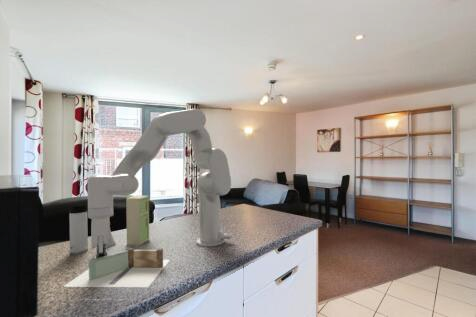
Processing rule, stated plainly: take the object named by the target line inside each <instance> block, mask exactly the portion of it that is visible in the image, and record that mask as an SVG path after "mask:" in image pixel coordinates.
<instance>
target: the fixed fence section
mask: <svg viewBox="0 0 476 317" xmlns="http://www.w3.org/2000/svg"><path fill="white" fill-rule="evenodd" d="M127 251H128V267H133V266H134V267H161V268H162V266H163V260H164V249H163V248H159V247H158V248H157V249H134V248H132V247H131V248H128V249H127Z"/></svg>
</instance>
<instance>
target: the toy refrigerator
mask: <svg viewBox="0 0 476 317" xmlns="http://www.w3.org/2000/svg"><path fill="white" fill-rule="evenodd" d="M149 198H150V197H149V195H133V196H130V197H126V200H125V201H126V202H125V203H126V204H125V205H126V206H125V208H126V211H125V212H126V245H128V246H141V245H143V244H145V243H147V242H148V241H150V203H149V202H150V200H149Z"/></svg>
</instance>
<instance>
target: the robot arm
mask: <svg viewBox="0 0 476 317" xmlns="http://www.w3.org/2000/svg"><path fill="white" fill-rule="evenodd" d="M206 122H207V117H206V114H205V113H204V112H203V111H202V109H198V108H190V109H185V110H178V111H169V112H165V113H162V114H159V115H156V116H154V117H153V119H151V121H150V122H149V124H148V125H147V126H146V128H145V130H144V131H143V133H142V134H141V136H140V137H139V139H138V140H137V142H136V143H135V144H134V146H133V147H132V148H131V149H130V150H129V152H128V153H127V154H126V155H125V156H124V157H123V159H122V160H121V161H120V162H119V163H118V165H117V167H116V168H115V169H114V171H113V172H112V174H111V175H108V174H104V175H103V174H101V175H100V174H98V175H92V176H91V175H90V176H89V177H88V179H87V219H91V225H90V227H91V229H90V232H91V233H90V234H91V235H90V236H91V237H90V238H91V239H90V240H91V241H90V242H91V244H90V249H91V250H94V249H96V256H95V258H99V257H102V256H106V255H108V252H107V248H108V247H107V246H108V242H109V233H110V231H111V227H110V226H111V222H110V219H111V218H110V217H113V216H114V196H130V195H133V194H134V193H136V191H137V190H138V189H139V184H140V183H139V180H138V178H137V177H136V175H137V173H138V172H139V171H140V170H141V168H143V167H144V166H145V165H147V164H148V163H149V162H152V160H154V159H155V158H157V156H158V154H159V152H160V151H161V149H162V147H163V146H164V144H165V143H166V141H167V139H168V138H169V137H171V136H174V135H175V136H176V135H181V134H186V136H187V137H188V138H189V140H190V142H191V146H192V152H193V156H194V161H195V164H196V167H197V168H198V169H200V170H202V171H207V172H203V173H201V174H200V176H198V178H197V180H196V189H197V194H198V201H199V202H198V205H199V207H198V208H199V209H198V210H199V212H198V215H199V219H198V220H199V237H198V238H197V239H196V244H197V246H200V247H206V248H210V247H213V248H214V247H218V246H221V245H223V244H224V243H225V240H231V239H232V238H231V236H232V235H231V234H229V233H223V230H222V227H221V225H222V222H221V221H222V220H221V218H222V217H221V199H220V196H225V195H227V194H228V193H229V192H230V191H231V188H232V177H231V172H230V167H229V160H228V158H227V155H226V153H225V152H224V151H223V150H222V149H220V148H218V147H217V148H216V147H213V145H212V140H211V136H210V134H209V131H208V130H207V129H206V127H205V126H206ZM208 171H209V172H208Z"/></svg>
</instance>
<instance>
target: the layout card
mask: <svg viewBox="0 0 476 317" xmlns="http://www.w3.org/2000/svg"><path fill="white" fill-rule="evenodd" d="M170 261H171V260H170V259H163V266H162V268H161V267H134V266H133V267H128V268H125V269H122V270H119V271H115V272H112V273H109V274H106V275H103V276H100V277H97V278H94V279H91V280H90V279H89V268H88V269H86V270H85V271H83V272H82V273H81V274H79V275H78V276H76V277H75V278H73V279H72V280H70V281H69V282H68V283H66V284H64V285H63V287H64V288H67V287H68V288H149V287H150V286H151V285H152V283H153V282H154V281H155V279H156V278H157V277H158V276H159V275H160V274H161V272H162V271H163V270H164V268H165V267H166V265H167V264H168V263H169V262H170Z"/></svg>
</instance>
